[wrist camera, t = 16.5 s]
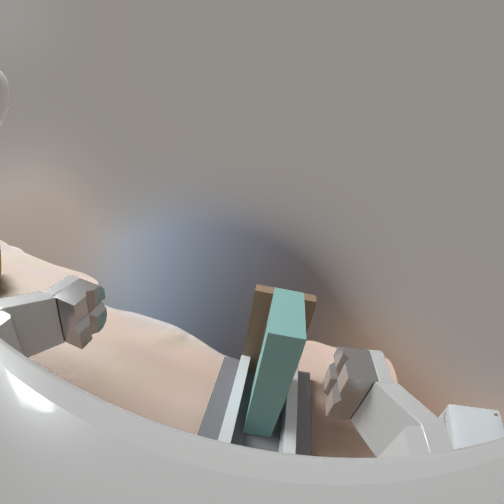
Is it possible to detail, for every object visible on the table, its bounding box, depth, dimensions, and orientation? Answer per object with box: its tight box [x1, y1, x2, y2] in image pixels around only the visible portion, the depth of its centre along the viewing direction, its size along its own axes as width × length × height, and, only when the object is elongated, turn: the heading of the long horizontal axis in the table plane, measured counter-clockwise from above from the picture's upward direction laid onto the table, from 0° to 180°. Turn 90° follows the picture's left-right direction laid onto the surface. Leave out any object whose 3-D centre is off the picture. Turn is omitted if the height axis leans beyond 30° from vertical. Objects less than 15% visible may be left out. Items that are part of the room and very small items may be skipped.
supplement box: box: [439, 404, 504, 449], centre depth 15 cm, size 7×7×13 cm
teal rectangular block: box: [243, 288, 306, 437], centre depth 27 cm, size 3×8×14 cm, turn 172°
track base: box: [198, 284, 316, 456], centre depth 27 cm, size 12×18×13 cm, turn 172°
